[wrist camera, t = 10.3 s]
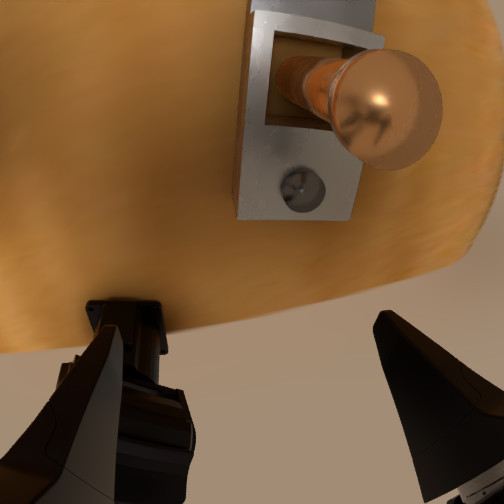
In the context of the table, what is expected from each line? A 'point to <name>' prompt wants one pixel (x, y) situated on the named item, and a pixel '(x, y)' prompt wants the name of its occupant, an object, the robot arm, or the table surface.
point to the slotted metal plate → (295, 129)
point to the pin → (369, 102)
